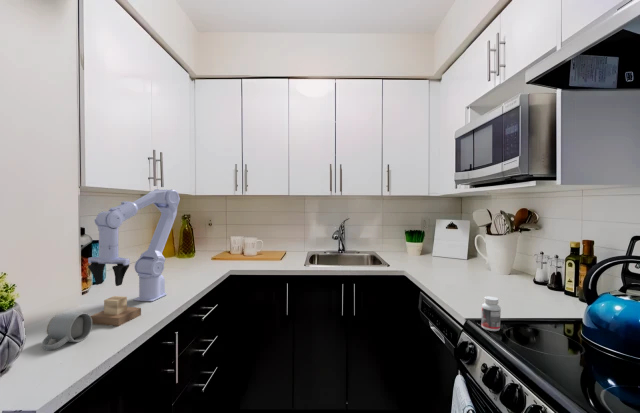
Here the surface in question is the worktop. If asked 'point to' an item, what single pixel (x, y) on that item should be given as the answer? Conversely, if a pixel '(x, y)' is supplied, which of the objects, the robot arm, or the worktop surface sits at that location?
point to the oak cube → (115, 305)
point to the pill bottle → (491, 314)
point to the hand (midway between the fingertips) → (109, 284)
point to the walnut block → (116, 317)
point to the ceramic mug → (67, 329)
